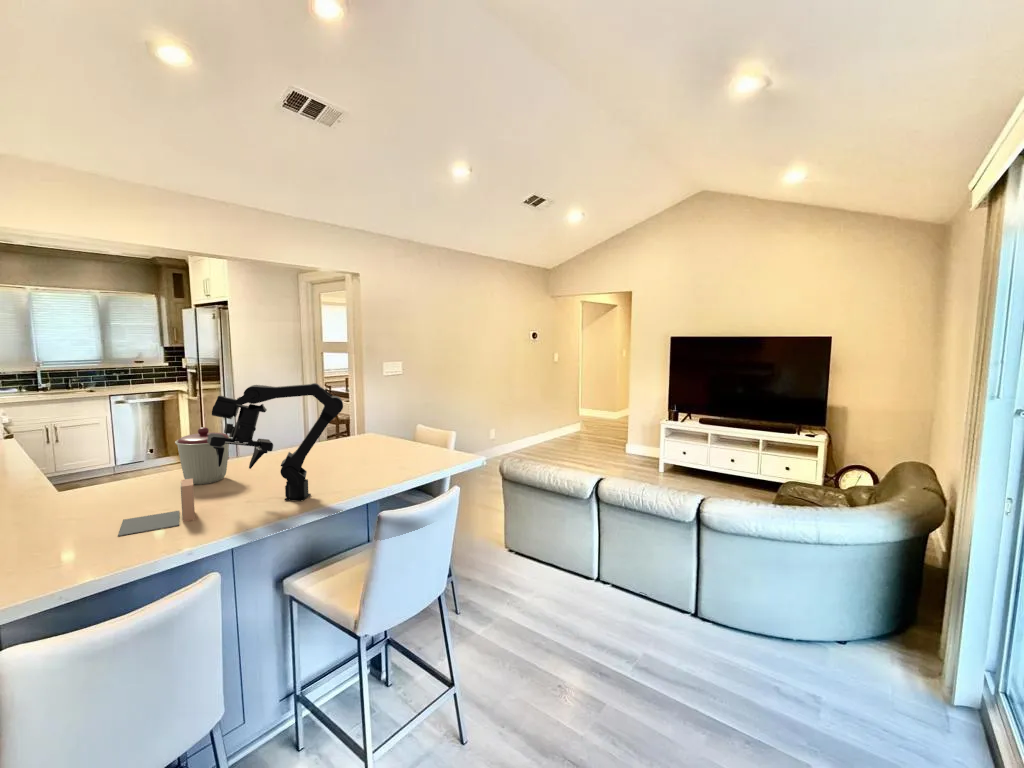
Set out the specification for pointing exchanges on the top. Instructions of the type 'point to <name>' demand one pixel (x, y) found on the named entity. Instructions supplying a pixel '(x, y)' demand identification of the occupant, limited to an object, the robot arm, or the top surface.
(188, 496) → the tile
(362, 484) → the top surface
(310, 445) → the robot arm
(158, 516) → the mat
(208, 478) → the canister
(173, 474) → the top surface
